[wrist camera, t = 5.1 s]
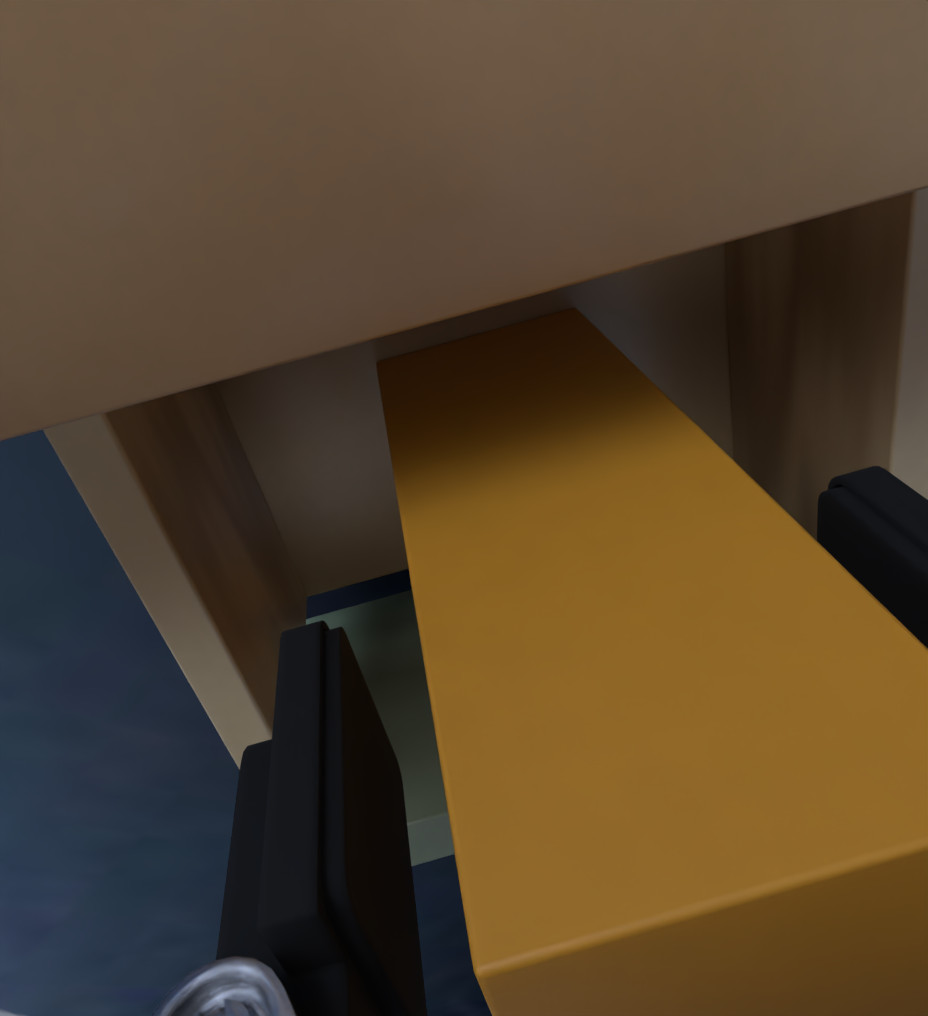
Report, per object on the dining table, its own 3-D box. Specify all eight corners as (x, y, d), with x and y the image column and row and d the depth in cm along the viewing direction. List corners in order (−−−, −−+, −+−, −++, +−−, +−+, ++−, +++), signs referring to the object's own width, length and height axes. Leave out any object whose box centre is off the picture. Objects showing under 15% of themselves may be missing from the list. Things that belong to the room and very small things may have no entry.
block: (426, 531, 17) (569, 1203, 7) (374, 361, 15) (473, 977, 5) (602, 482, 17) (996, 1077, 7) (577, 306, 15) (1088, 798, 5)
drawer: (773, 560, 21) (947, 753, 15) (298, 694, 21) (287, 943, 15) (768, -40, 14) (1096, -118, 8) (40, 154, 13) (-180, 221, 8)
